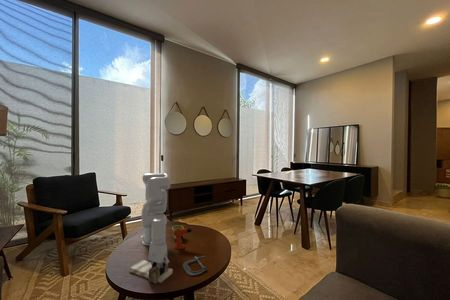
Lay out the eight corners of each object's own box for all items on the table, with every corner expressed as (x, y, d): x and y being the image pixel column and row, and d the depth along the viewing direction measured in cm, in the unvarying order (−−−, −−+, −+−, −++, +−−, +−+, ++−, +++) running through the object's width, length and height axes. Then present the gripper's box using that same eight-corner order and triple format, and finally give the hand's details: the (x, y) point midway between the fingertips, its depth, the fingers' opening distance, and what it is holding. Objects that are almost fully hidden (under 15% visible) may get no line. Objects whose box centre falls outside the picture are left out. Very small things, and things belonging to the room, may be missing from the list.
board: (129, 271, 130) (129, 267, 130) (142, 263, 139) (142, 259, 139) (160, 282, 120) (160, 278, 120) (172, 273, 129) (172, 269, 129)
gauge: (148, 281, 120) (148, 268, 120) (161, 271, 129) (161, 259, 129) (155, 283, 118) (155, 270, 118) (167, 274, 127) (167, 261, 127)
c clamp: (180, 261, 143) (180, 257, 143) (205, 257, 150) (205, 253, 149) (186, 278, 124) (186, 274, 124) (215, 272, 131) (215, 268, 131)
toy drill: (199, 246, 160) (197, 226, 160) (174, 250, 159) (171, 230, 159) (200, 243, 165) (197, 224, 165) (175, 247, 164) (172, 227, 164)
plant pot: (172, 241, 173) (173, 230, 173) (170, 236, 181) (171, 226, 181) (184, 239, 177) (184, 228, 176) (182, 235, 185) (182, 224, 185)
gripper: (142, 240, 124) (142, 271, 124) (165, 246, 116) (165, 279, 117) (152, 235, 130) (151, 265, 131) (174, 240, 123) (174, 272, 123)
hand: (158, 271), depth 124 cm, fingers open, 5 cm apart
